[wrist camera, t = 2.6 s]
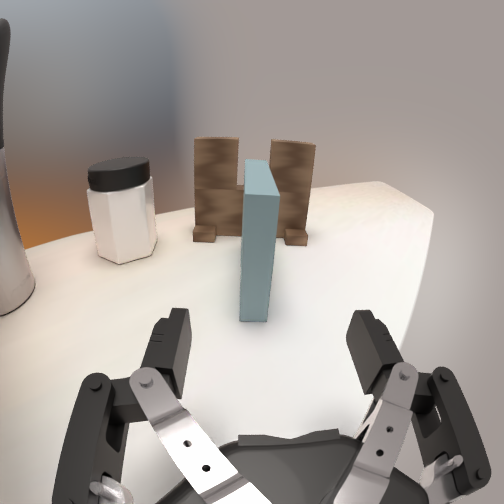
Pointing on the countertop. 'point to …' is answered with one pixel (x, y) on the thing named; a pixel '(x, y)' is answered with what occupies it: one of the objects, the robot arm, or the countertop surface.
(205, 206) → the brown wooden u-shaped piece
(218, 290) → the countertop surface
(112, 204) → the jar
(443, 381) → the robot arm
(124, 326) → the countertop surface
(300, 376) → the countertop surface
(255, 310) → the teal rectangular panel
